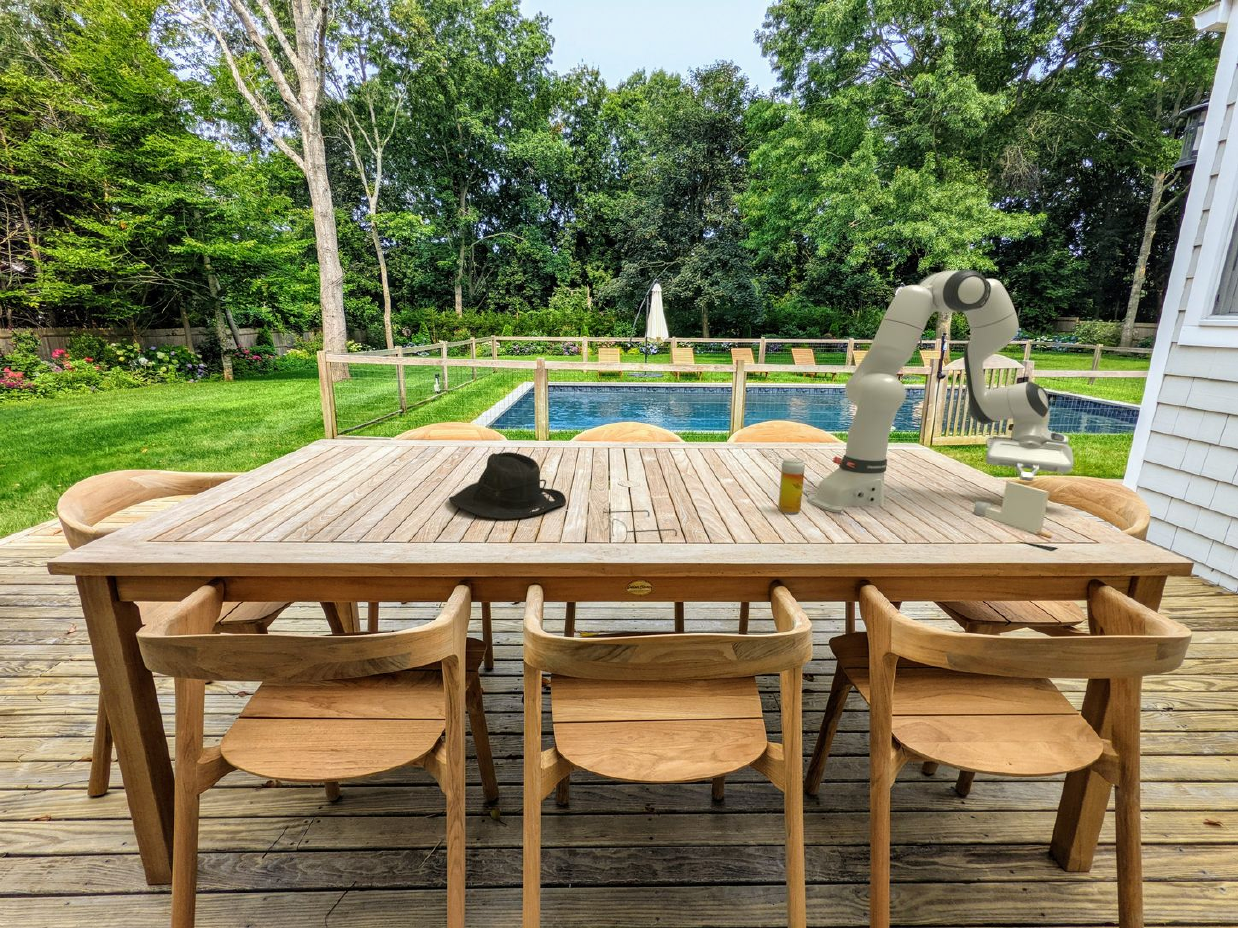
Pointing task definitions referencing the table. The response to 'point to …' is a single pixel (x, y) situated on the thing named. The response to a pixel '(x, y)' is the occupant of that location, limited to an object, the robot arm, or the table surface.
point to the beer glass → (791, 485)
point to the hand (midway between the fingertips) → (1026, 479)
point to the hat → (508, 489)
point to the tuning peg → (1019, 508)
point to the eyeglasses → (634, 531)
